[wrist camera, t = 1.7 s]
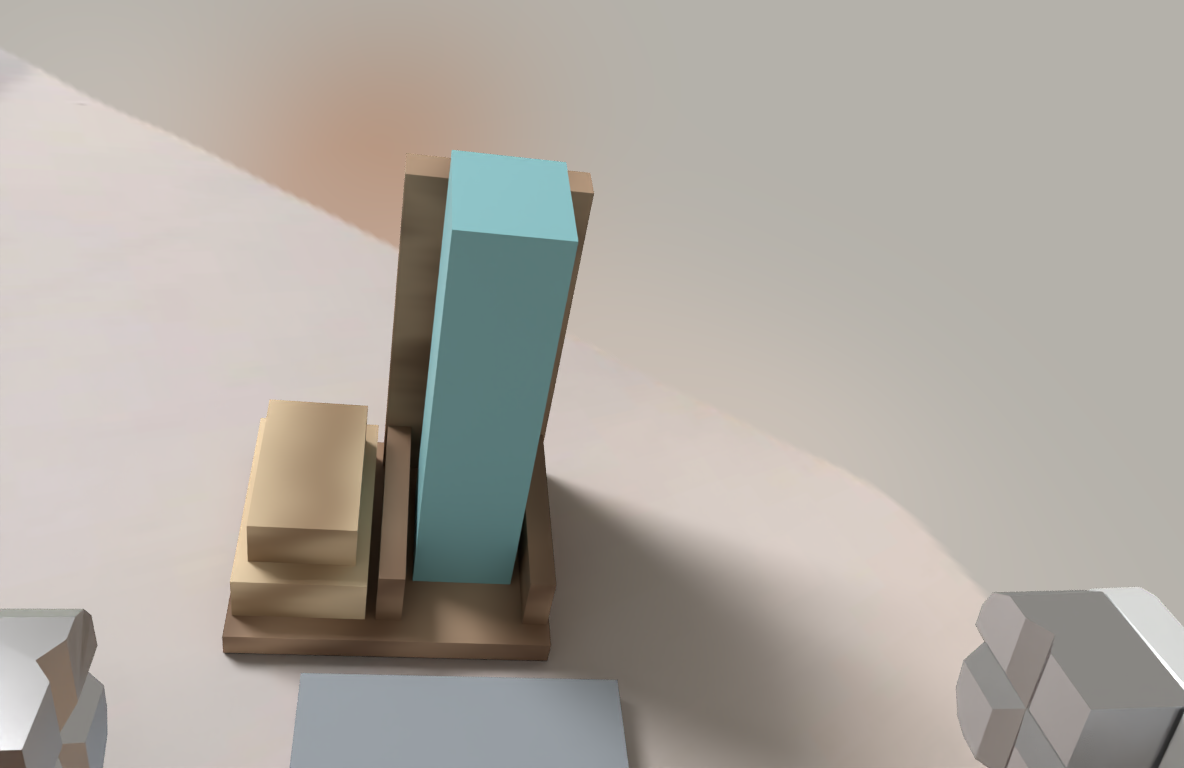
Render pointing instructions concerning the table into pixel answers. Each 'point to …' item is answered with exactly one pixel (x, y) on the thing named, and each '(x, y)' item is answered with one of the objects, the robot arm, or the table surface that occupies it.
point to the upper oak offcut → (308, 484)
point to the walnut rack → (394, 601)
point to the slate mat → (457, 722)
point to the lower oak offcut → (306, 565)
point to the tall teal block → (490, 361)
